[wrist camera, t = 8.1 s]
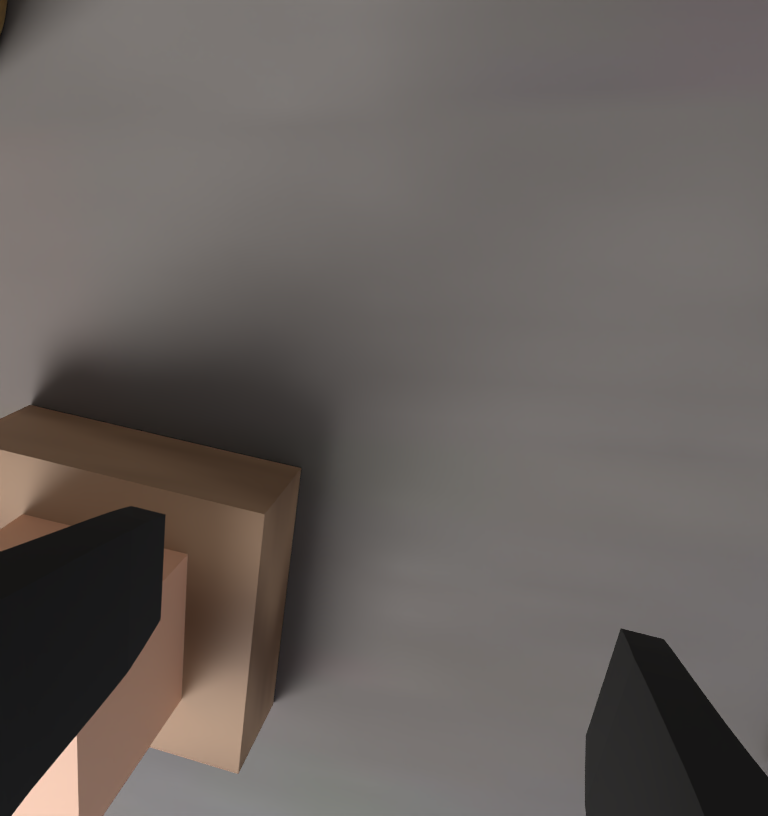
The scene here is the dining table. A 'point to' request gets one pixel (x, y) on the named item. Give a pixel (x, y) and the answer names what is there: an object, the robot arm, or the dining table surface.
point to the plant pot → (2, 13)
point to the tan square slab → (184, 532)
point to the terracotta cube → (114, 702)
